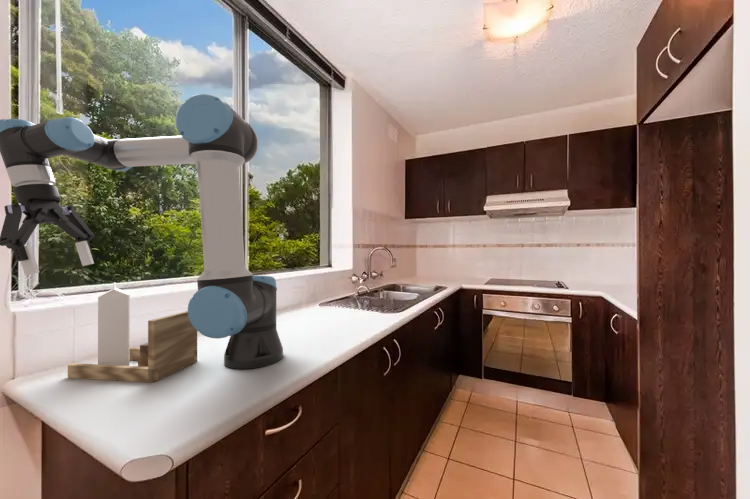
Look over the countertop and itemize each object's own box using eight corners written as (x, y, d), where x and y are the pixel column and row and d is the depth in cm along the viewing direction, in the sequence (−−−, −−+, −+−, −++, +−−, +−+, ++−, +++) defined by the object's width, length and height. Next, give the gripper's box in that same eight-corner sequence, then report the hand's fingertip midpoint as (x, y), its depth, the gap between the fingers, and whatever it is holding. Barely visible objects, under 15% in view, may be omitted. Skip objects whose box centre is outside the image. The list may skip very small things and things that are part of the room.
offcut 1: (176, 348, 81) (175, 339, 81) (156, 356, 75) (156, 346, 75) (160, 347, 81) (160, 338, 81) (139, 355, 76) (139, 345, 76)
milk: (97, 374, 75) (97, 284, 76) (100, 367, 80) (99, 282, 80) (129, 368, 79) (128, 282, 79) (130, 361, 84) (129, 281, 84)
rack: (197, 361, 84) (197, 309, 84) (153, 382, 70) (153, 320, 70) (123, 357, 87) (123, 308, 87) (67, 377, 73) (67, 318, 73)
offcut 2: (176, 357, 82) (176, 347, 82) (158, 367, 75) (158, 356, 75) (157, 357, 81) (157, 347, 81) (137, 367, 74) (137, 357, 74)
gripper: (71, 193, 89) (94, 264, 91) (-50, 184, 64) (-14, 282, 66) (95, 187, 88) (118, 259, 90) (-17, 176, 63) (18, 275, 66)
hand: (62, 269), depth 78 cm, fingers open, 13 cm apart
